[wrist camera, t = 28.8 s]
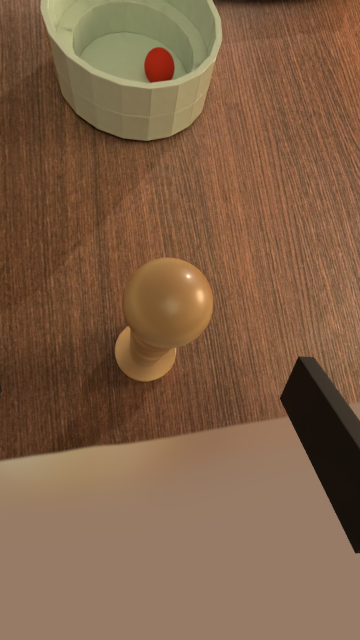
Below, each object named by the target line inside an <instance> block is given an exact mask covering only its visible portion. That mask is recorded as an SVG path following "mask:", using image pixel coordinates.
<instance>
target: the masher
mask: <svg viewBox="0 0 360 640" xmlns="http://www.w3.org/2000/svg"><path fill="white" fill-rule="evenodd" d="M122 306H123V313H124V317H125V319H126V322H127V324H128V326H127V327H126V328H125V329H124V330H123V331H122V332H121V333H120V335H119V336H118V338H117V341H116V344H115V358H116V362H117V364H118V366H119V368H120V369H121V371H122V372H123V373H124V374H125V375H126V376H128V377H129V378H131V379H133V380H136V381H141V382H148V381H153V380H156V379H159V378H160V377H162V376H163V375H165V374H166V373H167V372H168V371H169V370H170V368H171V367H172V365H173V363H174V360H175V357H176V348H177V347H181V346H184V345H187V344H189V343H190V342H192V341H194V340H195V339H196V338H198V337H199V336H200V335H201V334H202V332H203V331H204V330H205V329H206V327H207V325H208V323H209V321H210V319H211V315H212V311H213V296H212V291H211V288H210V285H209V283H208V281H207V280H206V278H205V277H204V275H203V274H202V273H201V272H200V271H199V270H198V269H197V268H196V267H195V266H193V265H191V264H190V263H188V262H186V261H183V260H180V259H176V258H159V259H155V260H152V261H150V262H148V263H146V264H144V265H142V266H141V267H140V268H138V269H137V270H136V271H135V272H134V273H133V275H132V276H131V277H130V279H129V280H128V282H127V284H126V287H125V289H124V294H123V301H122Z"/></svg>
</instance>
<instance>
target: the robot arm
mask: <svg viewBox="0 0 360 640" xmlns="http://www.w3.org/2000/svg"><path fill="white" fill-rule="evenodd" d="M1 391H2V390H1V386H0V393H1ZM280 400H281V402H282V404H283V406H284V408H285V410H286V412H287V414H288V416H289V418H290V420H291V422H292V424H293V426H294V429H295V431H296V433H297V434H298V437H299V439H300V441H301V443H302V445H303V447H304V449H305V451H306V453H307V455H308V457H309V459H310V461H311V463H312V465H313V467H314V469H315V472H316V474H317V476H318V478H319V480H320V482H321V484H322V486H323V488H324V490H325V492H326V494H327V496H328V498H329V500H330V502H331V504H332V506H333V508H334V511H335V513H336V515H337V517H338V519H339V521H340V523H341V525H342V527H343V529H344V531H345V533H346V535H347V537H348V539H349V541H350V543H351V545H352V547H353V549H354V551H355V553H360V421H359V419H358V418H357V416H356V415H355V414H354V412H353V411H352V409H351V408H350V407H349V405H348V404H347V403H346V401H345V400H344V398H343V397H342V396H341V394H340V393H339V391H338V390H337V389H336V387H335V386H334V384H333V383H332V382H331V380H330V379H329V378H328V376H327V375H326V373H325V372H324V371H323V369H322V368H321V366H320V365H319V364H318V362H317V361H316V359H315V358H314V357H298V359H297V361H296V363H295V366H294V368H293V370H292V372H291V375H290V377H289V379H288V381H287V384H286V386H285V388H284V390H283V393H282V395H281V397H280Z"/></svg>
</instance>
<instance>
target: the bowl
mask: <svg viewBox="0 0 360 640" xmlns="http://www.w3.org/2000/svg"><path fill="white" fill-rule="evenodd" d="M40 11H41V16H42V20H43V24H44V28H45V33H46V37H47V41H48V45H49V49H50V54H51V58H52V62H53V66H54V71H55V75H56V78H57V81H58V84H59V87H60V90H61V93H62V95H63V97H64V98H65V100H66V101H67V102H68V103H69V105H70V106H71V107H72V108H73V110H74V111H75V112H76V114H78V115H79V116H80V117H82V118H83V119H84V120H86V121H87V122H89V123H90V124H91V125H93V126H94V127H96V128H97V129H99V130H102V131H105V132H107V133H110V134H113V135H115V136H118V137H121V138H125V139H135V140H145V141H149V140H154V139H160V138H166V137H170V136H172V135H174V134H176V133H178V132H180V131H182V130H183V129H185V128H187V127H189V126H190V125H191V124H192V123H193V121H194V120H195V119H196V118H197V117H198V116H199V115H200V113H201V112H202V110H203V107H204V104H205V101H206V98H207V95H208V91H209V87H210V84H211V80H212V76H213V72H214V69H215V65H216V61H217V58H218V54H219V50H220V47H221V43H222V29H221V19H220V16H219V14H218V11H217V9H216V7H215V5H214V3H213V0H41V7H40ZM156 47H162V48H164V49H166V50H167V51H168V52H169V53H170V54H171V56H172V58H173V60H174V65H175V70H174V75H173V78H172V80H168V81H161V82H153V83H151V82H150V81H149V80H148V79H147V77H146V74H145V70H144V62H145V58H146V56H147V54H148V52H149V51H150V50H152V49H153V48H156Z"/></svg>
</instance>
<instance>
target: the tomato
mask: <svg viewBox="0 0 360 640" xmlns="http://www.w3.org/2000/svg"><path fill="white" fill-rule="evenodd" d="M144 70H145V74H146V77H147V79H148V80H149V81H150V82H151V83H153V82H161V81H168V80H172V78H173V75H174V70H175V65H174V60H173V58H172V56H171V54H170V53H169V52H168V51H167V50H166V49H164V48H162V47H156V48H153V49H152V50H150V51H149V52H148V54H147V56H146V58H145V62H144Z"/></svg>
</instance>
